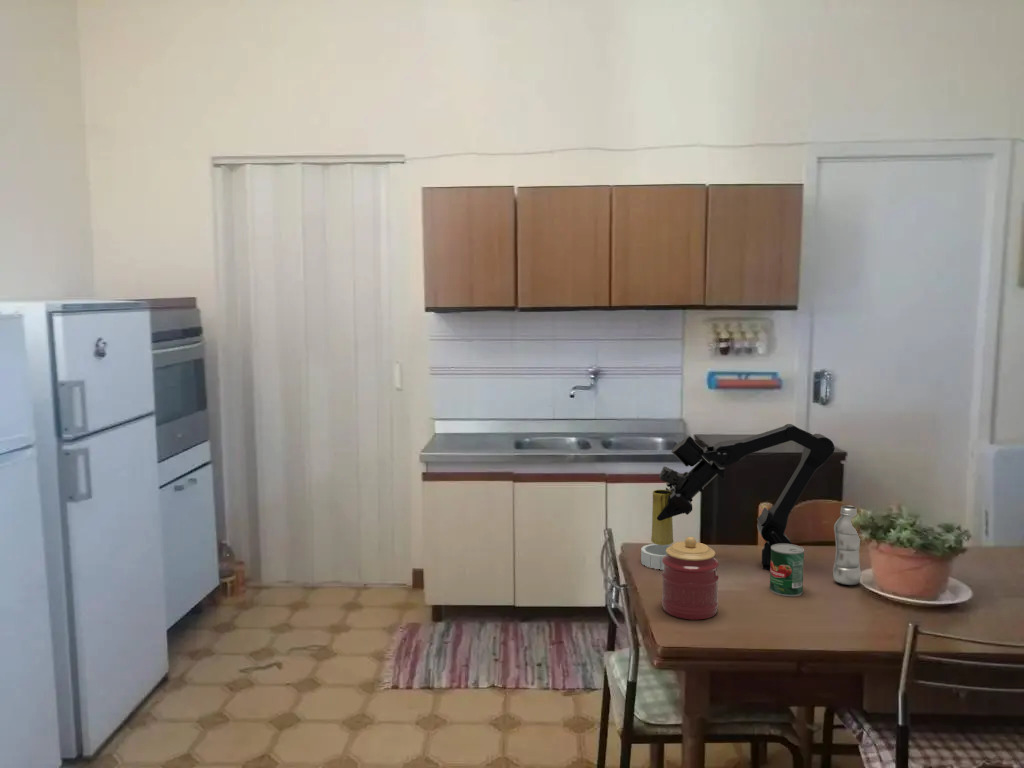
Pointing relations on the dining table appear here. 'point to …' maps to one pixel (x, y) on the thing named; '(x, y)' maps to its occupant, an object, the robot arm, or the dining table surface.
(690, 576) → the canister
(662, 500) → the vase
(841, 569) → the plastic bottle
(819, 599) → the dining table surface
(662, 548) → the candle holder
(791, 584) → the canned tomato
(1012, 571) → the dining table surface
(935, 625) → the dining table surface
